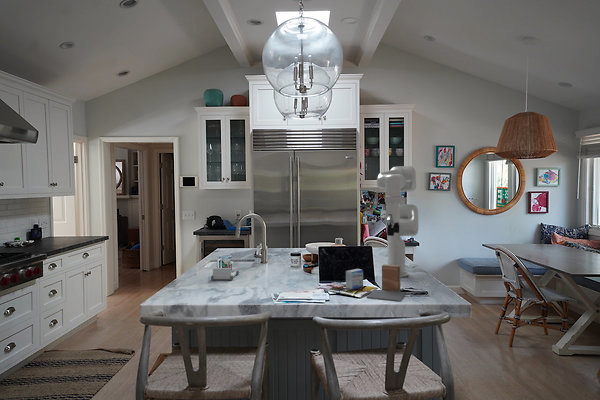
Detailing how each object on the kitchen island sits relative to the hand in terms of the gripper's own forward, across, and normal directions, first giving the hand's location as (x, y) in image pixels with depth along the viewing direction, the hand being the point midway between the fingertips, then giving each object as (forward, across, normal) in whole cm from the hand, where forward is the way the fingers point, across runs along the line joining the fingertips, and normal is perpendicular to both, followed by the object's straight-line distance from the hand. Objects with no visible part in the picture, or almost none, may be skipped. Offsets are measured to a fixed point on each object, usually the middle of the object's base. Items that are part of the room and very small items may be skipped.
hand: (393, 234), depth 198 cm
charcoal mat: (+26, +19, +2) cm, 32 cm away
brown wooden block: (+26, +9, +1) cm, 27 cm away
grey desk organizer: (+27, +22, -90) cm, 96 cm away
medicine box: (+26, +11, -17) cm, 33 cm away
